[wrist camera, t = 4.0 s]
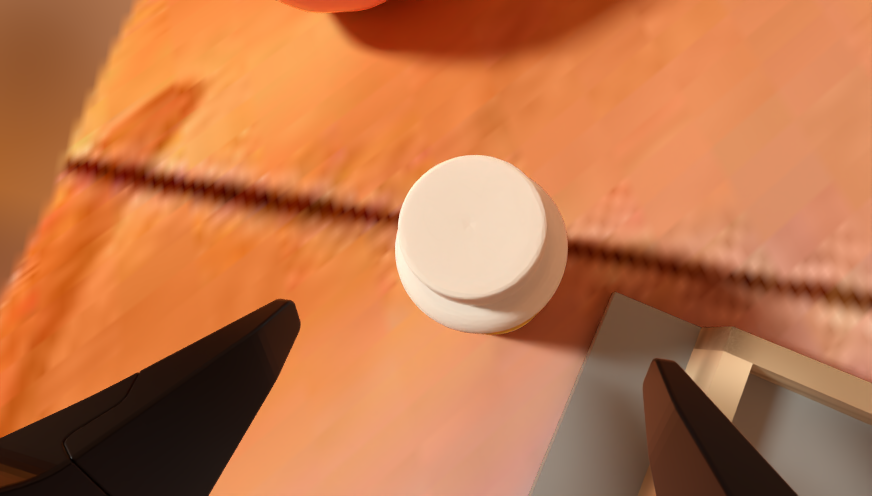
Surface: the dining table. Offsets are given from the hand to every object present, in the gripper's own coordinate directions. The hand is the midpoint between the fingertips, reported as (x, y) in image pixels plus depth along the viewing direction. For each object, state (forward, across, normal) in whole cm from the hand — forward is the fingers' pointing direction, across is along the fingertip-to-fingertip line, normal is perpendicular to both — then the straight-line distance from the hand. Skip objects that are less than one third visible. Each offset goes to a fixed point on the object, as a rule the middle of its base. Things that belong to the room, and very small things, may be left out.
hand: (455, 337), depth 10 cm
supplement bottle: (+9, 0, +5) cm, 11 cm away
